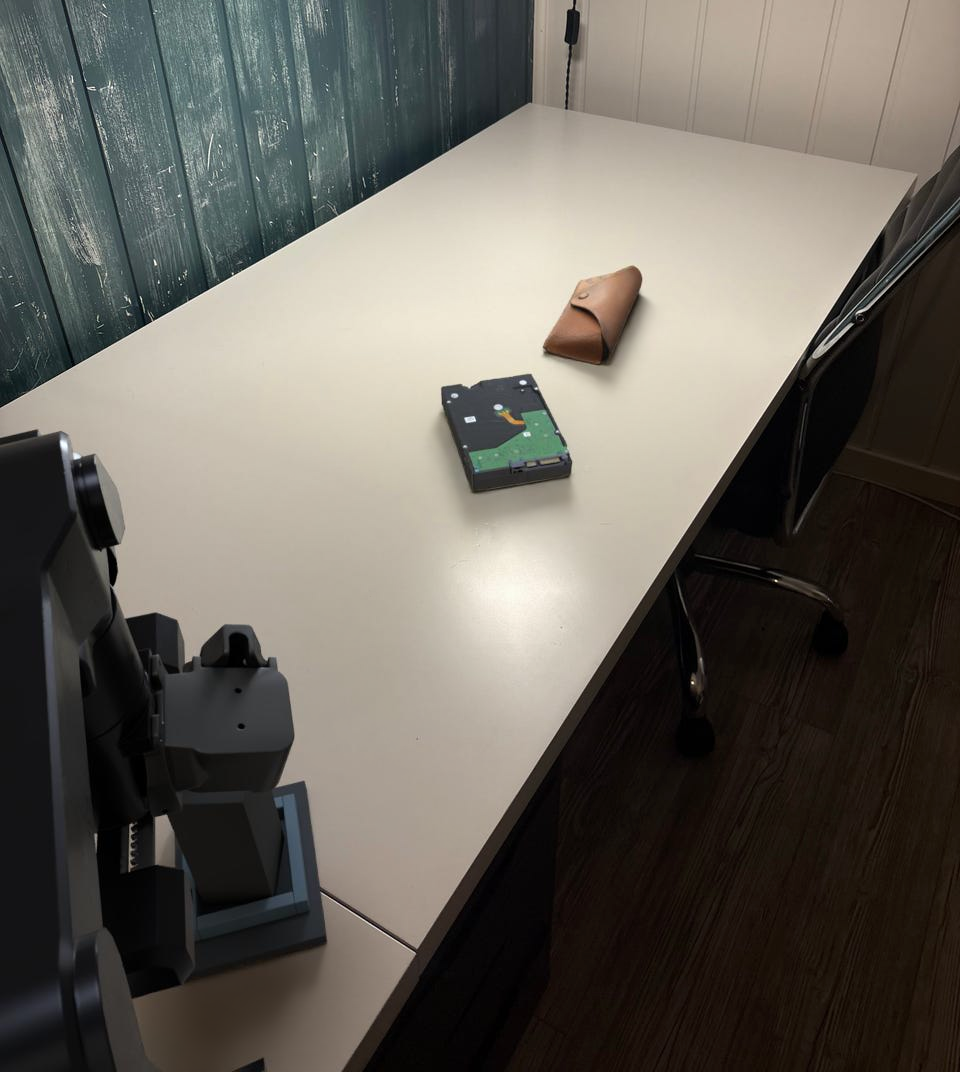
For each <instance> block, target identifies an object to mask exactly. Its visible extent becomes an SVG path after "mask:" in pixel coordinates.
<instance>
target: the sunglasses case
mask: <svg viewBox="0 0 960 1072" xmlns="http://www.w3.org/2000/svg"><path fill="white" fill-rule="evenodd" d="M642 285H643V274H642V272H641V270H640V269H639V268H638V267H636V266H635V265H628V266H626V267H624V268H622V269H621V268H620V269H619V270H617V271H615V272H611V273H607V274H603V275H598V276H594V277H590V278H586V279H581V280H579V281H578V283H577V285H576V287H575V289H574V291H573V293H572V295H571V297H570V298H569V300H568V302H567V304H566V306H565V307H564V309H563V311H562V312H561V315H560V316H559V318H558V320H557V321H556V323H555V324H554V326H553V327H552V329H551V331H550V332H549V334H548V335H547V337H546V339H545V340H544V342H543V344H542V349H543V350H545V351H546V352H547V353H550V354H554V355H557V356H559V357H562V358H566V359H569V360H573V361H578V362H582V363H587V364H592V365H597V366H599V365H602V364H603V365H604V364H605V363H607V362H608V361H610V359H611V356H613V353H614V351H615V348H616V346H617V343H618V341H619V339H620V337H621V334H622V332H623V329H624V327H625V324H626V322H627V320H628V317H629V315H630V312H631V311H632V308H633V305H634V304H635V301H636V299H637V297H638V295H639V293H640V290H641V289H642Z"/></svg>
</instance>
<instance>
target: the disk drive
mask: <svg viewBox="0 0 960 1072" xmlns="http://www.w3.org/2000/svg"><path fill="white" fill-rule="evenodd" d="M440 395H441V396H440V398H441V405H442V410H443V413H444V416H445V419H446V420H447V423H448V425H449V429H450V432H451V435H452V437H453V440H454V443H455V445H456V449H457V452H458V454H459V457H460V460H461V463H462V467H463V468H464V473H465V476H466V478H467V481H468V483H469V486H470V487H471V491H472V492H476V491H484V490H487V491H488V490H493V489H499V488H504V487H511V486H517V485H524V484H529V483H535V482H540V481H541V482H542V481H547V480H553V479H558V478H563V477H565V476H570V475H572V468H573V460H572V458H571V454H570V450H569V448H568V444H567V441H566V440H565V437H564V436H563V434H562V432H561V431H560V428H559V426H558V424H557V422H556V420H555V418H554V416H553V414H552V412H551V409H550V408H549V405H548V404H547V402H546V400H545V398H544V396H543V394H542V392H541V390H540V388H539V385H538V383H537V381H536V380H535V378H534V376H533V374H532V373H524V374H518V375H513V376H506V377H498V378H491V379H490V378H489V379H484V380H483V379H482V380H480V381H478V382H477V383H474V384H473V385H471V386H470V387H468V386H466V385H463V384H462V383H457V384H450V385H443V386H441V387H440Z"/></svg>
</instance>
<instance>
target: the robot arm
mask: <svg viewBox="0 0 960 1072" xmlns="http://www.w3.org/2000/svg"><path fill="white" fill-rule="evenodd" d="M125 531H126V523H125V518H124V513H123V507H122V502H121V497H120V494H119V490H118V487H117V485H116V484H115V482H114V480H113V479H112V477H111V475H110V474H109V472H108V470H107V469H106V467H105V466H104V464H103V463H102V460H101V459H100V457H99V456H98V454H97V453H91V454H88V455H84V456H83V455H82V454H80V453H78V452H75V451H74V448H73V444H72V441H71V437H70V435H69V434H68V433H66V432H65V431H62V430H59V431H55V432H54V431H53V432H50V433H45V434H42V433H41V431H40V429H38V428H35V429H33V430H31V429H30V430H27V431H23V432H19V433H14V434H10V435H6V436H1V437H0V1072H163V1071H162V1070H161V1069H160V1068H159V1067H158V1066H157V1065H155V1063H153V1062H152V1061H151V1060H150V1059H149V1058H148V1055H147V1054H146V1051H145V1047H144V1043H143V1039H142V1035H141V1030H140V1026H139V1023H138V1018H137V1014H136V1009H135V1006H134V1003H133V1002H134V1001H133V1000H134V999H137V998H141V997H145V996H148V995H152V994H155V993H159V992H163V991H166V990H171V989H174V988H177V987H181V986H183V984H184V983H186V982H185V980H186V979H187V978H188V976H189V975H190V974H191V972H192V971H193V970H194V968H195V947H194V917H193V893H192V888H191V889H190V884H189V880H188V878H187V875H186V873H185V871H184V869H179V868H175V866H167V865H163V864H156V818H159V817H162V816H167V814H171V813H175V812H179V811H182V792H181V791H184V790H188V791H191V792H195V793H208V792H230V791H251V792H253V793H262V792H267V791H270V790H272V789H273V788H276V787H278V785H279V783H280V781H281V779H282V776H283V772H284V770H285V767H286V764H287V762H288V759H289V756H290V753H291V750H292V747H293V744H294V741H295V736H296V735H295V726H294V719H293V711H292V704H291V697H290V689H289V683H288V680H287V678H286V677H285V675H284V674H283V673H282V672H281V671H279V668H278V667H279V666H278V660H277V656H268V658H267V660H266V659H265V657H264V656H263V654H262V646H261V643H260V641H259V639H258V636H257V635H256V632H255V631H254V628H253V626H252V625H250V624H240V623H239V624H236V623H235V624H234V623H224V624H223V625H222V626H221V627H219V628H218V629H217V630H216V632H215V633H213V634H212V635H211V636H210V637H209V638H208V639H207V640H206V641H204V643H203V644H202V646H201V648H200V652H199V655H193V656H192V658H191V660H190V661H187V662H186V650H185V648H186V647H185V639H184V636H183V632H182V630H181V626H180V624H179V620H178V619H176V618H173V617H171V616H168V615H165V614H162V613H159V612H157V611H156V612H149V613H144V614H140V615H135V616H130V617H125V615H124V612H123V609H122V607H121V605H120V601H119V599H118V596H117V594H116V591H115V589H114V587H115V585H116V582H117V579H118V574H119V567H118V559H117V553H116V547H115V546H118V545H121V544H122V541H123V538H124V535H125ZM131 825H132V826H131ZM130 831H131V833H132V834H130ZM95 836H96V837H95ZM130 839H131V841H132V842H130ZM130 847H131V849H132V850H131V851H130ZM130 857H131V859H130ZM130 865H131V866H132V867H130ZM231 1072H268V1069H267V1065H266V1060H265V1057H261V1058H259V1059H257V1060H255V1061H252V1062H250V1063H247V1064H245V1065H243V1066H241V1067H239V1068H236V1069H234V1070H232V1071H231Z"/></svg>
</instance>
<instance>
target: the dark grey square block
mask: <svg viewBox="0 0 960 1072" xmlns="http://www.w3.org/2000/svg"><path fill="white" fill-rule="evenodd" d="M181 792H182V811H179V812H175V813H171V814H167V815H166V817H167V819H168V821H169V823H170V826H171V828H172V831H173V834H174V837H175V836H176V838H177V841H178V843H179V846H180V848H181V850H182V853H183V855H184V858H185V860H186V863H187V865H188V867H189V870H190V872H191V875H192V877H193V880H194V882H195V884H196V887H197V889H198V892H199V894H200V896H201V899H202V901H203V904H204V905H205V906H207V905H244V904H248V903H252V902H256V901H259V900H263V899H267V898H271V897H274V896H276V891H277V884H278V877H279V871H280V864H281V858H282V851H283V844H284V838H285V837H284V833H283V830H282V826H281V822H280V819H279V815H278V812H277V808H276V804H275V801H274V797H273V793H272V790H270V791H267V792H262V793H253V792H251V791H230V792H208V793H195V792H191V791H188V790H184V791H181Z"/></svg>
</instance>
